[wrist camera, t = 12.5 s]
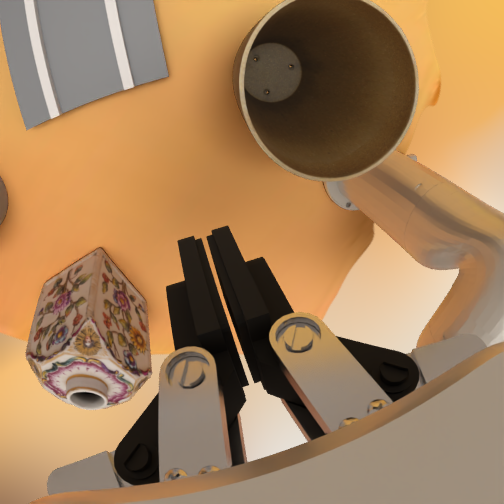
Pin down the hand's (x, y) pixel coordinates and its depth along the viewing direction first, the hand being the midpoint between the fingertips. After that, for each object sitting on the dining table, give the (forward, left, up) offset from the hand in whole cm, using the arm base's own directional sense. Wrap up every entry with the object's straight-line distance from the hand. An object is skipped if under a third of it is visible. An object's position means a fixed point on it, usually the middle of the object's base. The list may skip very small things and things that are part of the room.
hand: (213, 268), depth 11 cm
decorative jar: (+17, +19, -27) cm, 38 cm away
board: (+7, -19, -27) cm, 34 cm away
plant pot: (-12, -3, -27) cm, 30 cm away
